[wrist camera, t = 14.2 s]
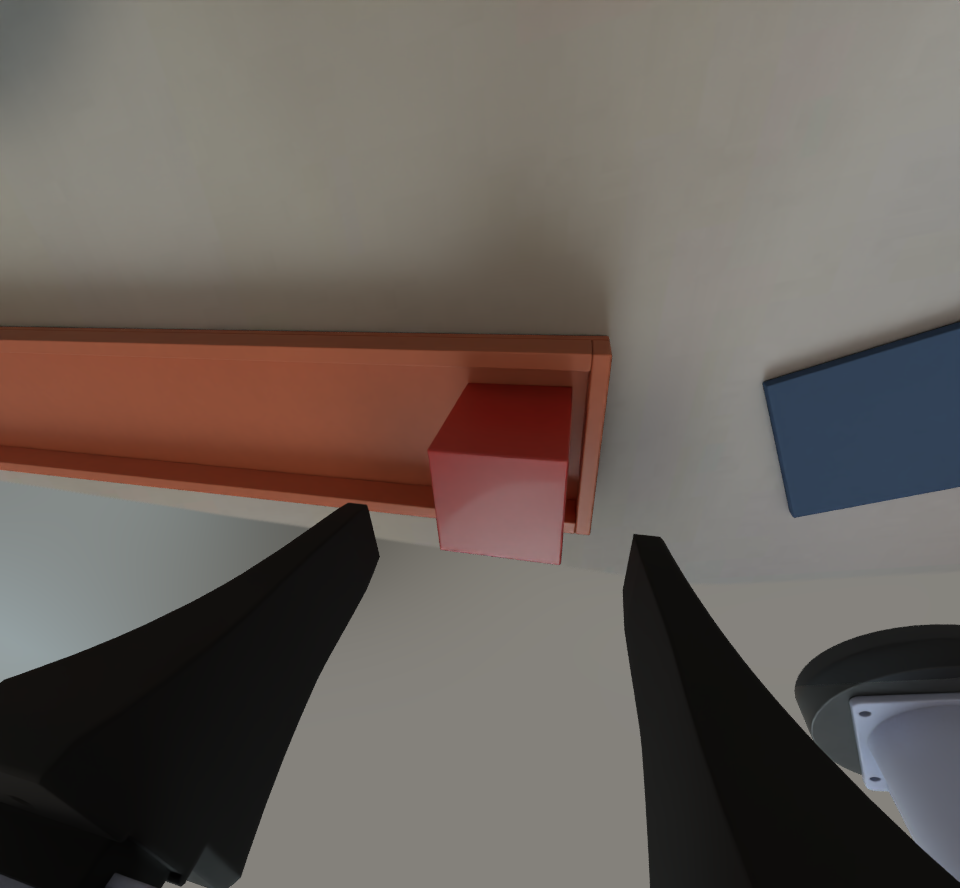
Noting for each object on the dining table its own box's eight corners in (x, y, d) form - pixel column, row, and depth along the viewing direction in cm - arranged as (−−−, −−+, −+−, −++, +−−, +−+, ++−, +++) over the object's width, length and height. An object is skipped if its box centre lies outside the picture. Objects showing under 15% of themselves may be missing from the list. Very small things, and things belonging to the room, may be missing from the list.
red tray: (608, 335, 14) (612, 354, 13) (589, 504, 18) (590, 536, 17) (-165, 323, 23) (-224, 334, 21) (-65, 441, 27) (-108, 458, 25)
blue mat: (994, 472, 14) (1004, 478, 14) (789, 511, 16) (793, 518, 16) (1002, 307, 12) (1015, 311, 11) (761, 382, 14) (766, 386, 14)
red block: (572, 386, 15) (569, 460, 11) (566, 475, 17) (560, 565, 13) (467, 382, 16) (426, 449, 12) (473, 467, 18) (439, 550, 14)
